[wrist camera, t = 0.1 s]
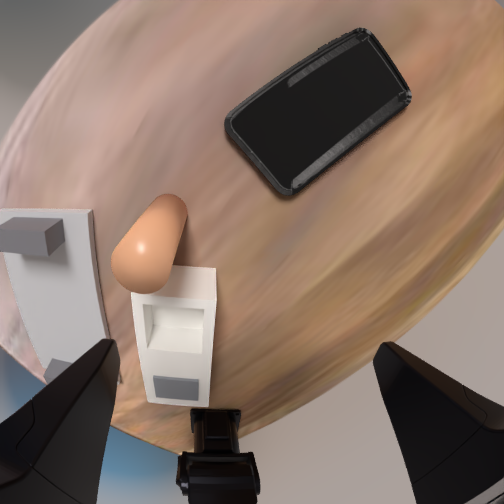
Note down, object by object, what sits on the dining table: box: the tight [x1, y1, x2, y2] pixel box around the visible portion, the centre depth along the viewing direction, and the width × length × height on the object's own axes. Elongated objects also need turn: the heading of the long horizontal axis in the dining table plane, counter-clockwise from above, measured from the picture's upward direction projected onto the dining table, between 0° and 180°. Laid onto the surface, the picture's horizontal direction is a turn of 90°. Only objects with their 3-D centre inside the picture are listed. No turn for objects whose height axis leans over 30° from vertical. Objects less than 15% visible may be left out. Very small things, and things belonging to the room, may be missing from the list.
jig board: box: [0, 208, 121, 385], centre depth 21 cm, size 20×11×4 cm, turn 173°
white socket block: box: [131, 265, 217, 407], centre depth 23 cm, size 13×6×5 cm, turn 172°
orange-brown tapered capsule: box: [111, 194, 187, 294], centre depth 17 cm, size 3×3×9 cm
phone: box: [224, 28, 412, 196], centre depth 18 cm, size 8×1×15 cm
